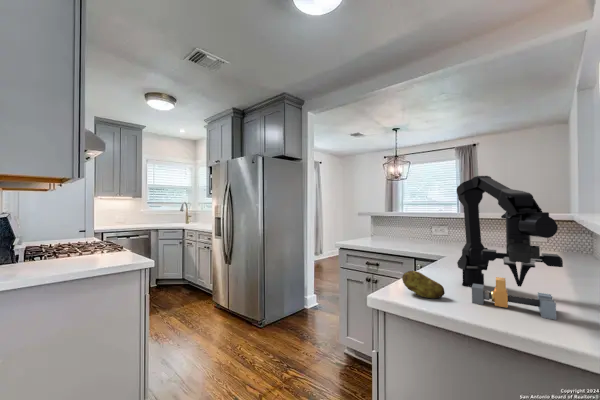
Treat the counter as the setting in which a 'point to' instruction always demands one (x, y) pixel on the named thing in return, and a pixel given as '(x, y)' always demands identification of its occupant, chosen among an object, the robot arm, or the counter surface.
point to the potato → (422, 285)
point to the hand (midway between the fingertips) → (519, 286)
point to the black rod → (522, 300)
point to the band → (492, 296)
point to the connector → (479, 294)
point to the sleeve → (501, 293)
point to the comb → (547, 306)
